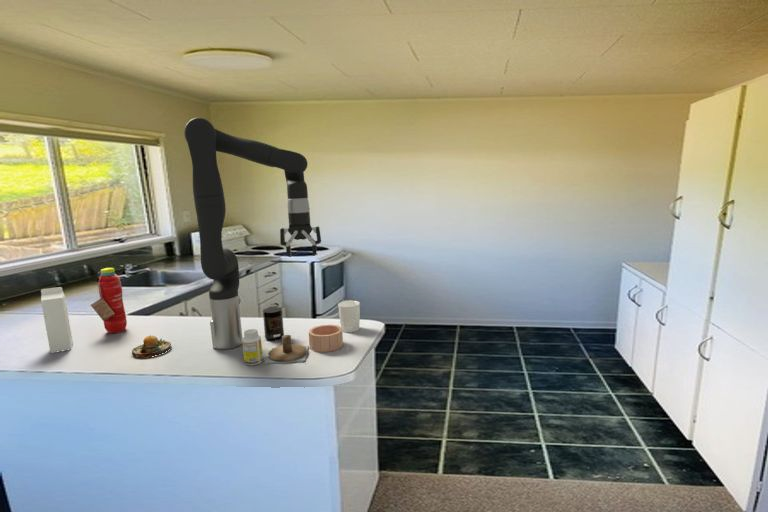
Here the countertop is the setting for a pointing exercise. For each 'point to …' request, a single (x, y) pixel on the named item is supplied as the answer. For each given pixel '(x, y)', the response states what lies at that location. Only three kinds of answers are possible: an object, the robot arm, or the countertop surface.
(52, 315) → the milk
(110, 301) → the water bottle
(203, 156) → the robot arm
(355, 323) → the white cup
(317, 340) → the bowl
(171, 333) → the countertop surface
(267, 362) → the mat
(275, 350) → the lid
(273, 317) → the supplement container
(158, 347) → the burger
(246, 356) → the supplement bottle
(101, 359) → the countertop surface
